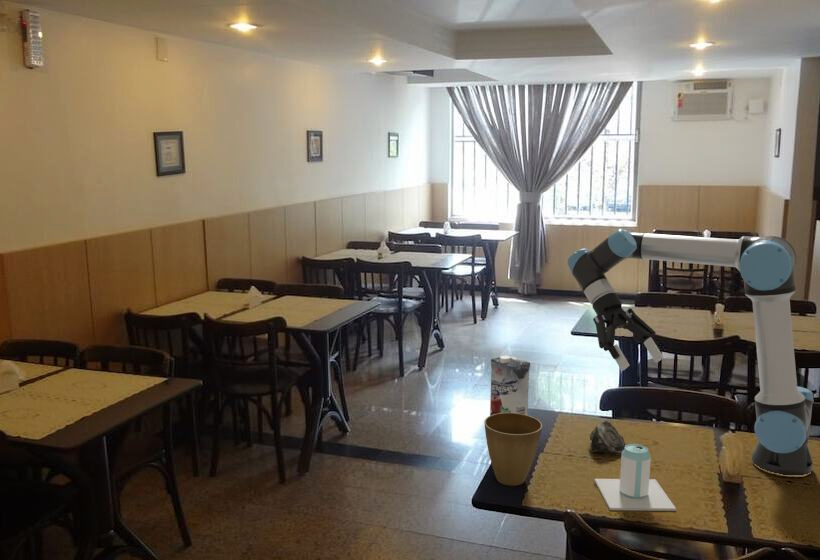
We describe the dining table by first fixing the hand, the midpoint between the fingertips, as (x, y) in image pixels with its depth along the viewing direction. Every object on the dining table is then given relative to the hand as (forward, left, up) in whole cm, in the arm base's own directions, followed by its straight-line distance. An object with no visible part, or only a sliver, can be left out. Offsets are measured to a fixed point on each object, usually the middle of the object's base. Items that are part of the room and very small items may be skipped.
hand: (643, 364), depth 202 cm
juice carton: (+33, -16, -30) cm, 48 cm away
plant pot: (+35, +8, -30) cm, 47 cm away
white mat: (+5, +16, -30) cm, 34 cm away
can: (+5, +16, -29) cm, 34 cm away
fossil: (+5, -12, -30) cm, 33 cm away
